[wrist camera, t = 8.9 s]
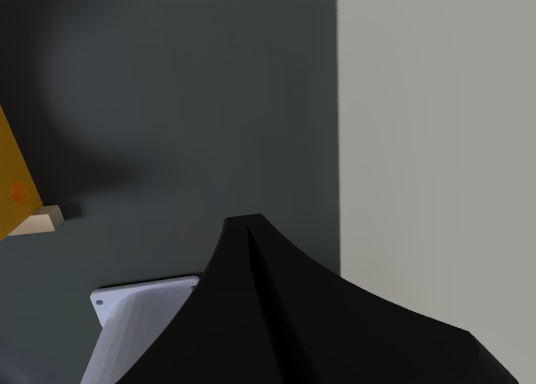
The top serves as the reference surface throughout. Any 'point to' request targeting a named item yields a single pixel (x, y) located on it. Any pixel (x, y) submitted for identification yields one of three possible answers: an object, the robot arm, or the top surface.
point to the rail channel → (41, 221)
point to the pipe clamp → (14, 183)
